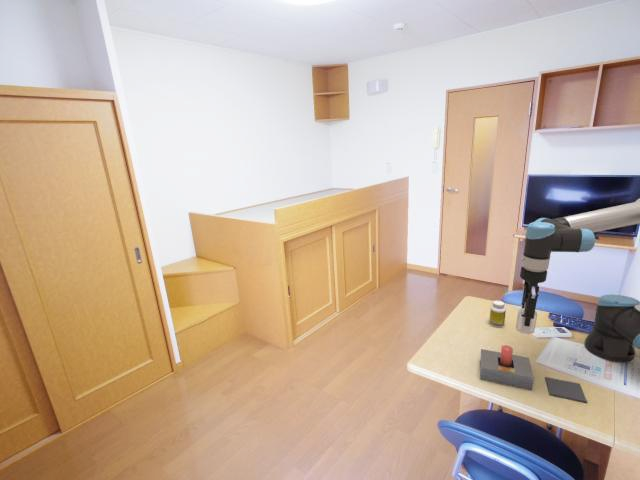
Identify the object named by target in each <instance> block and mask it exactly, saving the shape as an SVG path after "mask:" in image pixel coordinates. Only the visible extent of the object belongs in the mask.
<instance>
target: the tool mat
mask: <svg viewBox="0 0 640 480" xmlns="http://www.w3.org/2000/svg"><path fill="white" fill-rule="evenodd" d="M544 380H545V382H546V383H545V384H546V387H547V390H548V394H549V396H551V397H557V398H560V399H564V400H570V401H575V402H580V403H585V404H587V403H588V401H587V398H586V395H585V393H584V391H583V388H582V387H581V384H580V383H578V382H573V381H569V380H563V379H559V378H555V377H554V378H553V377H548V376H545V377H544Z"/></svg>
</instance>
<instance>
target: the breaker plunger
mask: <svg viewBox="0 0 640 480" xmlns="http://www.w3.org/2000/svg"><path fill="white" fill-rule="evenodd" d="M500 352H501V357H500V364H501V365H502V366H505V367H510V366H511V363H512V355H514V354H513V352H514V348H513V347H512V346H510V345H502V346H501V349H500Z"/></svg>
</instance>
